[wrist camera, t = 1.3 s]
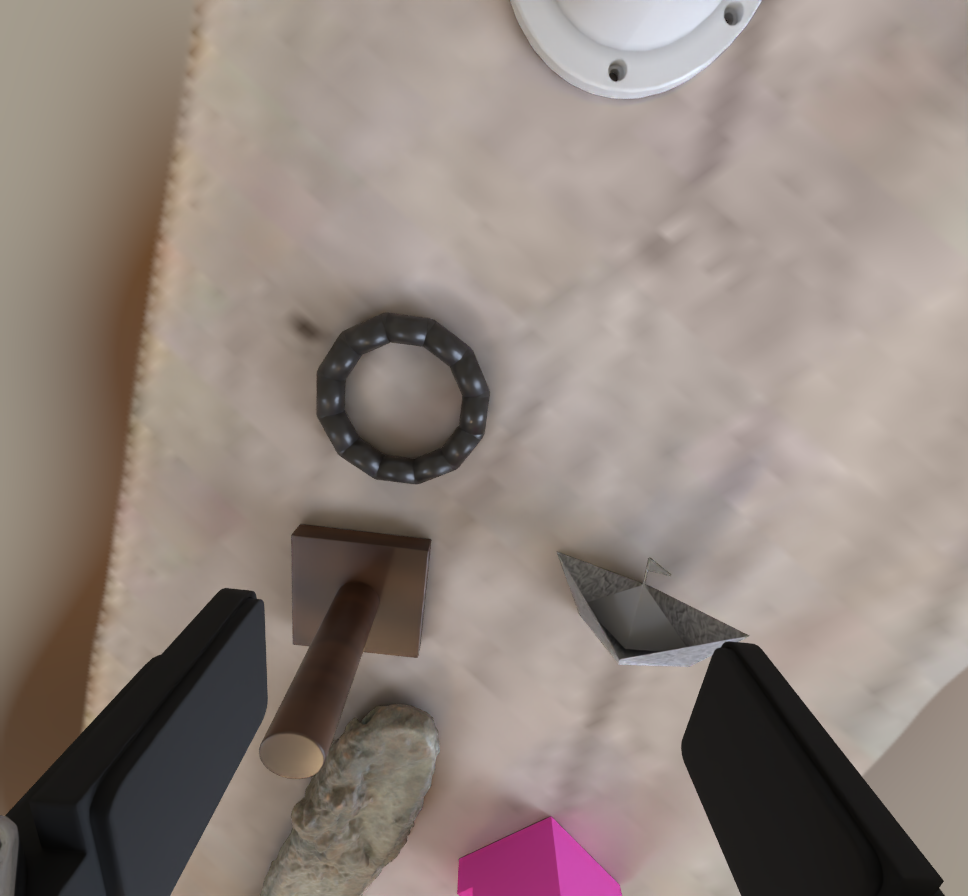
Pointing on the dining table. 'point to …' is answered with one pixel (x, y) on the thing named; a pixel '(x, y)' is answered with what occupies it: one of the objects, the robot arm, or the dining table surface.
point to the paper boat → (643, 618)
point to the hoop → (410, 333)
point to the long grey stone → (358, 805)
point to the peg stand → (342, 631)
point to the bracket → (534, 866)
